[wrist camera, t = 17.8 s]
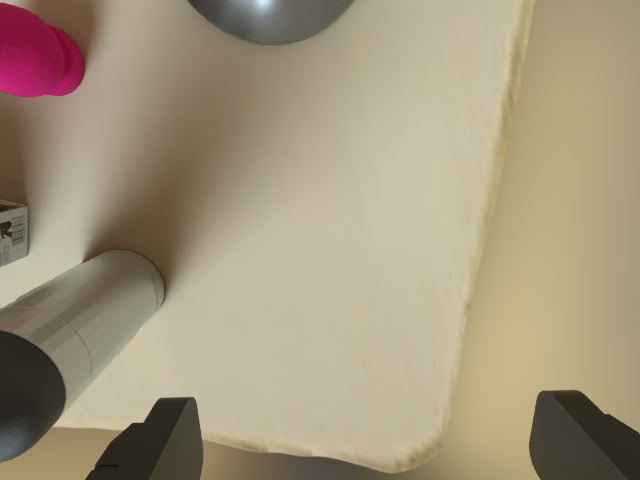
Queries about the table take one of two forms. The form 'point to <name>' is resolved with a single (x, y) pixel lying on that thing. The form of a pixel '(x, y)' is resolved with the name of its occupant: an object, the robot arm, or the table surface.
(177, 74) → the table surface
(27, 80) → the pepper mill
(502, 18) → the table surface
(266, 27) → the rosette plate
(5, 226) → the coffee box
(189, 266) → the table surface
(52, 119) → the table surface
